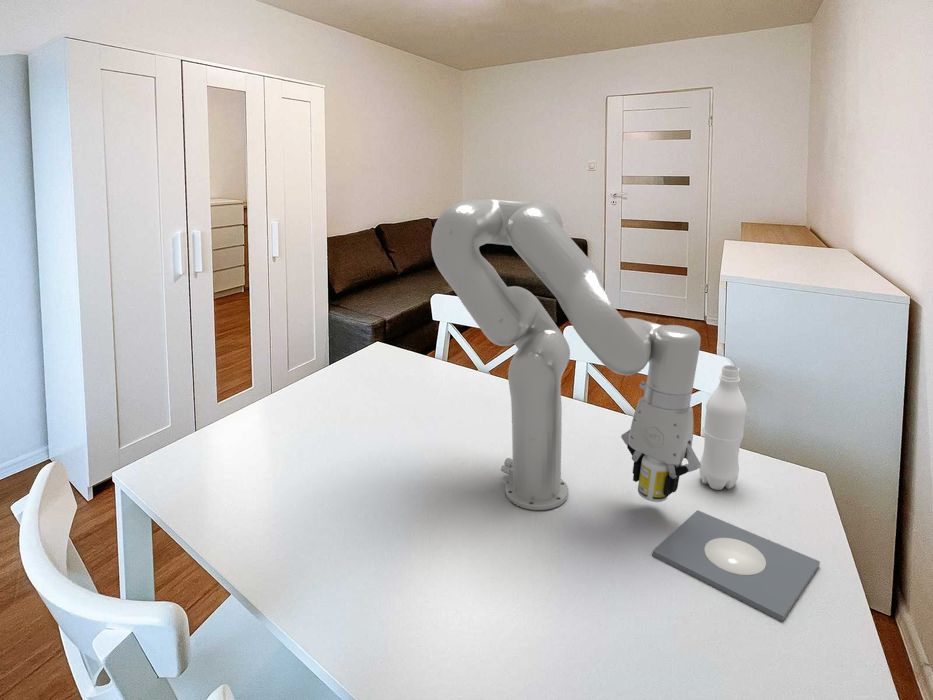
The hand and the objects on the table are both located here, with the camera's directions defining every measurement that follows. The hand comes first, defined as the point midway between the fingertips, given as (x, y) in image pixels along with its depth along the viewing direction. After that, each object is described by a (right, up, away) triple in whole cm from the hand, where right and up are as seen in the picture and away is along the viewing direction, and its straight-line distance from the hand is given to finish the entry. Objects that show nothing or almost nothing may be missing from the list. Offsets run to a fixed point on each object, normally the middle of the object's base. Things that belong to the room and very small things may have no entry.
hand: (653, 485), depth 101 cm
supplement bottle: (0, -2, +1) cm, 2 cm away
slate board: (+9, -9, -12) cm, 18 cm away
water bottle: (+16, -2, +10) cm, 19 cm away
